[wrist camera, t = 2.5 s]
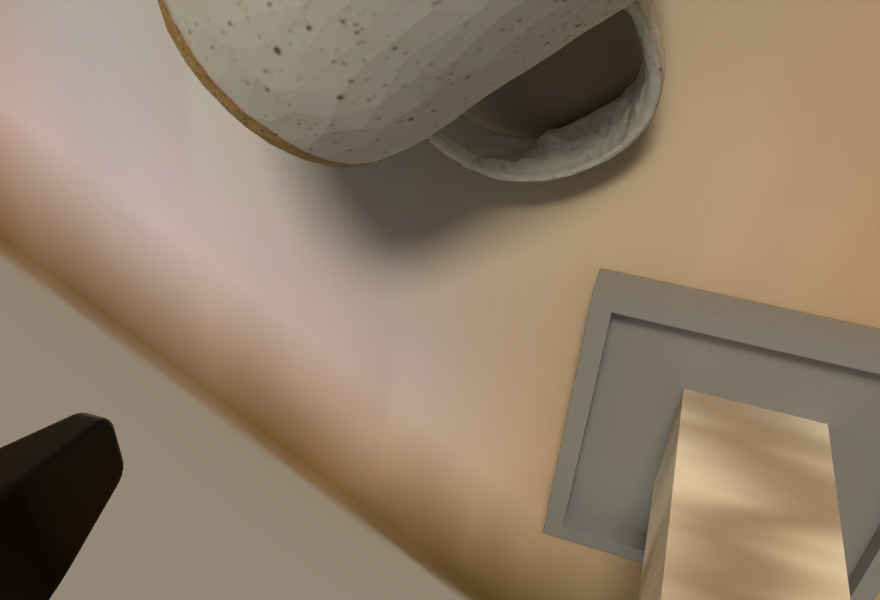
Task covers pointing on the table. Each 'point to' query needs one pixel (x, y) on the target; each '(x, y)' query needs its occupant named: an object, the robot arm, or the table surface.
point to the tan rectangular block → (743, 508)
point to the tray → (718, 374)
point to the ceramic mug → (407, 76)
